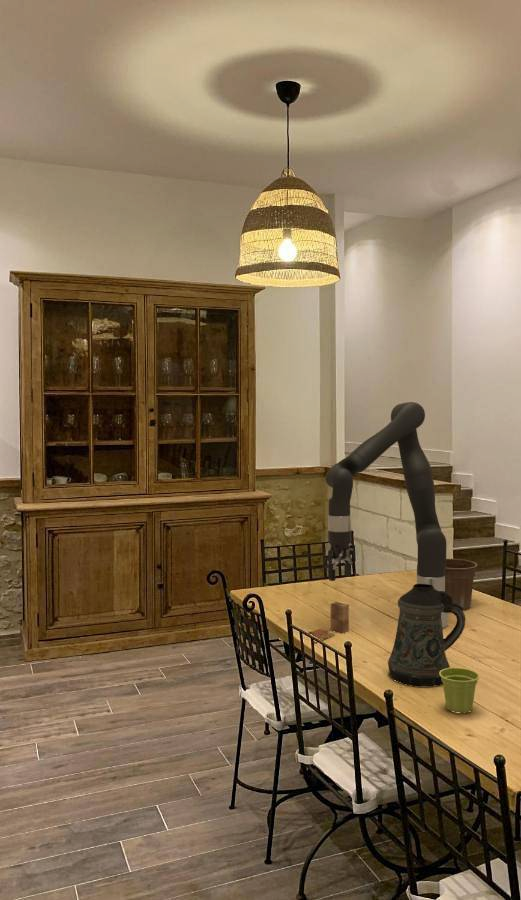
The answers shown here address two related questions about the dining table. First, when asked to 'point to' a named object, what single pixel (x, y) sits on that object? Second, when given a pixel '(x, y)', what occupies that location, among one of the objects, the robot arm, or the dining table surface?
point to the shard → (321, 633)
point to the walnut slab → (340, 617)
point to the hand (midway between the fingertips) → (340, 578)
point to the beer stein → (423, 636)
